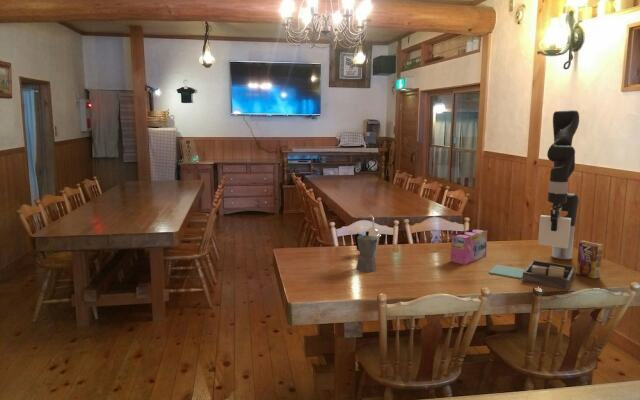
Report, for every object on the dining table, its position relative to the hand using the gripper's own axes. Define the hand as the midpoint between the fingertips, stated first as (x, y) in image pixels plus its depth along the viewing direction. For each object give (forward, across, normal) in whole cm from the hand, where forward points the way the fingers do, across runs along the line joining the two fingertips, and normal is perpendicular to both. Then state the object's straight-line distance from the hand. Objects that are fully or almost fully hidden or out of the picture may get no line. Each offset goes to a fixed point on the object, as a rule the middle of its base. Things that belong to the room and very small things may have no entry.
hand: (554, 229), depth 215 cm
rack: (+21, +5, 0) cm, 22 cm away
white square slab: (+7, 0, 0) cm, 7 cm away
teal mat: (+21, +5, -17) cm, 28 cm away
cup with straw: (+21, +12, -83) cm, 87 cm away
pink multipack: (+22, -7, -39) cm, 45 cm away
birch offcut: (+21, +9, +3) cm, 24 cm away
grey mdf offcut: (+21, +9, -4) cm, 24 cm away
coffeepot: (+21, +38, -74) cm, 86 cm away
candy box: (+22, -11, +14) cm, 28 cm away
